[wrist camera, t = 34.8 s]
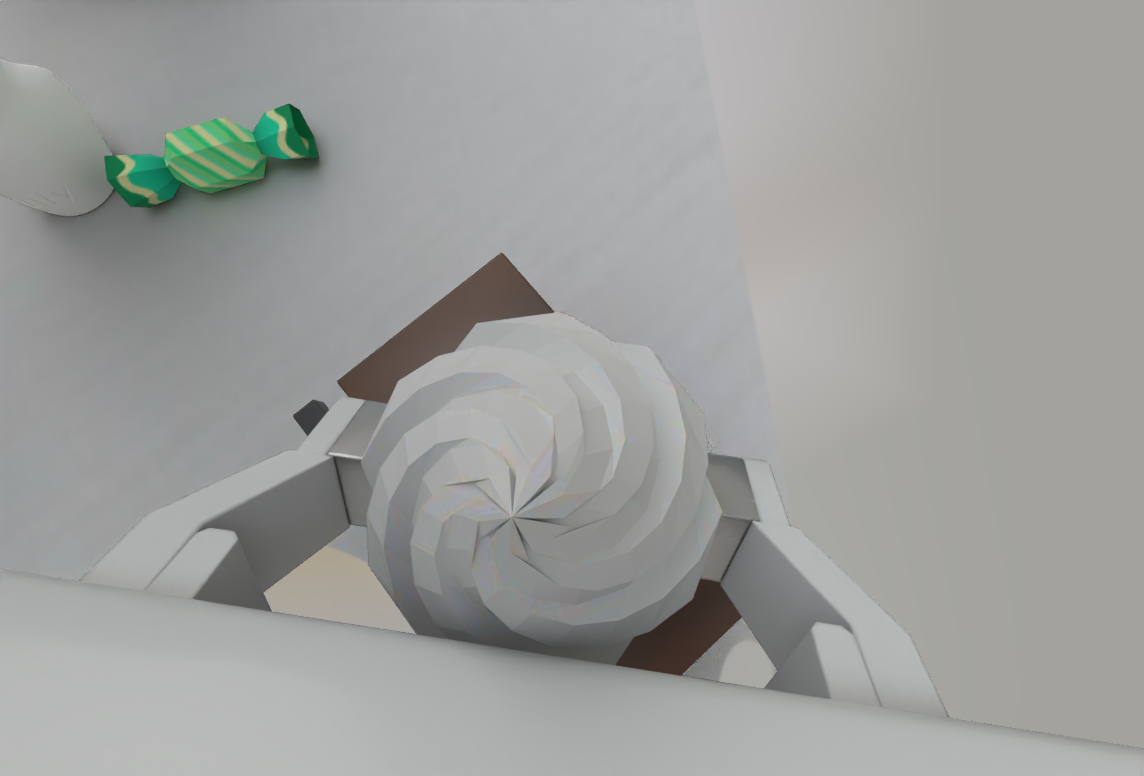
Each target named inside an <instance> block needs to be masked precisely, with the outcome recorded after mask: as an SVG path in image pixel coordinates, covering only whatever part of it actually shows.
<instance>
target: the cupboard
mask: <svg viewBox="0 0 1144 776" xmlns="http://www.w3.org/2000/svg"><path fill="white" fill-rule="evenodd" d="M549 313H555V312H554V311H553V310H552V309H551V307H550V306H549V305H548V304H547V303H546V302H545V301H544V299H543V298H542V297H541V296H540V295H539V294H538V293H537V292H536V290H535V289H534V288H533V287H532V286H531V285H530V284H529V282H528V281H527V280H526V279H525V278H524V277H523V276H522V274H521V273H520V272H519V271H518V270H517V269H516V268H515V266H514V265H513V264H512V263H511V262H510V261H509V260H508V258H507V257H506V256H505V255H504V254H503V253H500V254H499V255H498V256H496V257H495V258H494V259H492V260H491V261H490V262H489V263H487V264H486V265H485V266H483V267H482V268H481V269H480V270H478V271H477V272H476V273H475V274H473V275H472V276H471V277H469V278H468V279H467V280H466V281H464V282H463V283H462V284H460V285H459V286H458V287H457V288H455V289H454V290H453V291H452V292H450V293H449V294H448V295H446V296H445V297H444V298H443V299H441V300H440V301H439V302H437V303H436V304H435V305H434V306H432V307H431V308H430V309H429V310H427V311H426V312H425V313H423V314H422V315H421V316H420V317H418V318H417V319H416V320H414V321H413V322H412V323H411V324H409V325H408V326H407V327H406V328H404V329H403V330H402V331H400V332H399V333H398V334H397V335H395V336H394V337H393V338H391V339H390V340H389V341H388V342H386V343H385V344H384V345H382V346H381V347H380V348H379V349H377V350H376V351H375V352H374V353H372V354H371V355H370V356H368V357H367V358H366V359H365V360H363V361H362V362H361V363H359V364H358V365H357V366H356V367H354V368H353V369H352V370H351V371H349V372H348V373H347V374H345V375H344V376H343V377H342V378H340V379H339V380H338V381H337V382H338V384H339V386H340V387H341V388H342V389H343V391H344V392H345V393H346V394H347V396H348V397H351V398H356V399H362V400H367V401H369V400H370V401H376V402H382V403H388V402H389V400H390V398H391V395H392V393H393V391H394V389H395V387H396V385H397V382H398V381H399V380H401V379H402V378H404V377H405V376H407V375H409V374H410V373H412V372H413V371H415V370H417V369H418V368H420V367H421V366H423V365H425V364H426V363H428V362H429V361H431V360H433V359H434V358H436V357H437V356H440V355H444V354H448V353H452V352H455V350H456V349H457V348H458V346H459V345H460V344H461V343H462V341H463V340H464V339H465V338H466V336H467V335H468V334H469V332H470V331H471V330H472V329H473V327H474V326H475V325H476V323H482V322H489V321H496V320H504V319H511V318H519V317H526V316H534V315H541V314H549ZM328 411H329V409H328V407H327V406H326V405H325V403H324V402H321V401H317V400H312V401H311V402H310V403H308V404H307V405H306V406H304V407H303V408H302V409H301V410H299V411H298V412H297V413H296V414H294V415H293V417H294V419H295V420H296V421H297V423H298V424H299V425H300V427H301V428H302V429H303V430H304V432H305V433H306V434H307V436H308V435H309V434H310V433H311V432H312V430H313V429H314V428H315V427H316V425H317V424H318V423H319V422H320V421H321V419H322V418H323V417H324V416H325V414H326V413H327V412H328ZM720 583H721V582H717V581H711V580H706V579H700V580H699V583H698V586H697V589H696V591H695V594H694V597H693V599H692V600H691V601H690V602H688V603H687V604H686V605H684V606H683V607H682V608H680V609H679V610H678V611H676V612H675V613H674V614H672V615H671V616H670V617H668V618H667V619H666V620H664V621H663V622H662V623H661V624H659V625H658V626H657V627H655V628H654V629H653V630H651V631H650V632H647V633H644V634H641V635H638V636H635V637H634V638H633V639H632V641H631V642H630V644H629V645H628V647H627V648H626V650H625V651H624V653H623V654H622V656H621V657H620V659H619V660H618V662H617V663H616V666H622V667H629V668H635V669H641V670H648V671H654V672H661V673H667V674H673V675H680V676H681V675H682V674H683V673H684V672H685V671H686V670H687V669H688V668H689V667H690V666H691V665H692V664H693V663H694V662H695V661H696V660H698V659H699V658H700V657H701V656H702V655H703V654H704V653H705V652H706V651H707V650H708V649H709V648H710V647H711V646H712V645H713V644H714V643H715V642H716V641H717V640H718V639H719V638H721V637H722V636H723V635H724V634H725V633H726V632H727V631H728V630H729V629H730V628H731V627H732V626H733V625H734V624H735V623H736V622H737V621H738V620H739V619H740V618H741V617H742V616H741V615H740V613H739V612H738V610H737V609H736V607H735V606H734V604H733V603H732V601H731V600H730V598H729V597H728V595H727V594H726V592H725V591H724V589H723V588H722V587H721V585H720Z"/></svg>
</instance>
